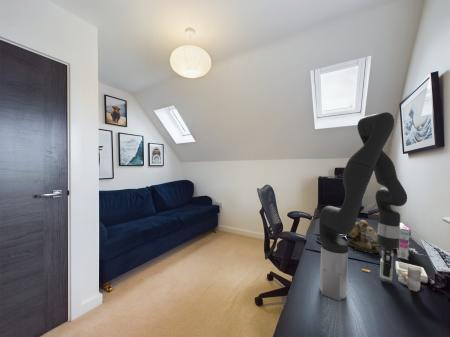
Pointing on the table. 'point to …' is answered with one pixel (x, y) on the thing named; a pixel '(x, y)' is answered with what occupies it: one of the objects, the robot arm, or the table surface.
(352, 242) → the owl figurine
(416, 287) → the crank arm
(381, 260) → the stop block
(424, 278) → the tray
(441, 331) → the table surface
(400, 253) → the candy bar box
